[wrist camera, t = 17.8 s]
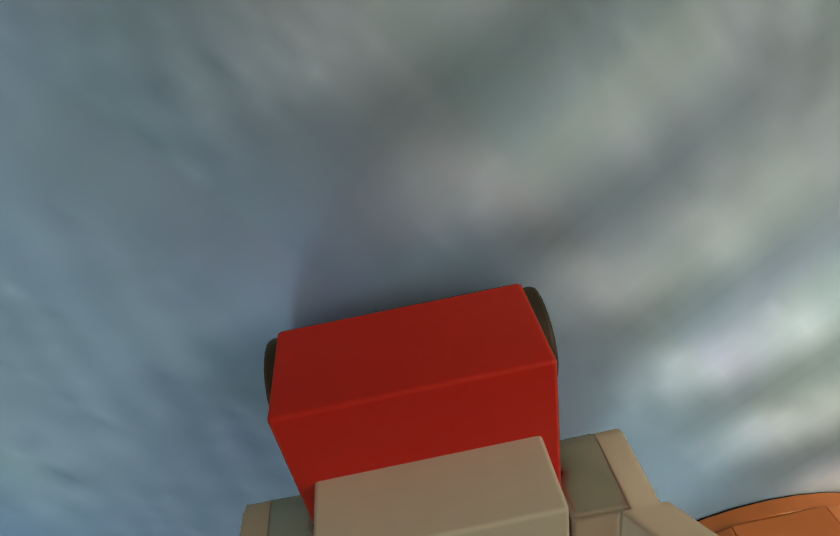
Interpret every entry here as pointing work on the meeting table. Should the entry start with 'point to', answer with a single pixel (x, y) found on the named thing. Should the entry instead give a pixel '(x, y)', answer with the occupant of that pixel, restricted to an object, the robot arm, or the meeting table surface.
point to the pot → (781, 517)
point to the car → (424, 418)
